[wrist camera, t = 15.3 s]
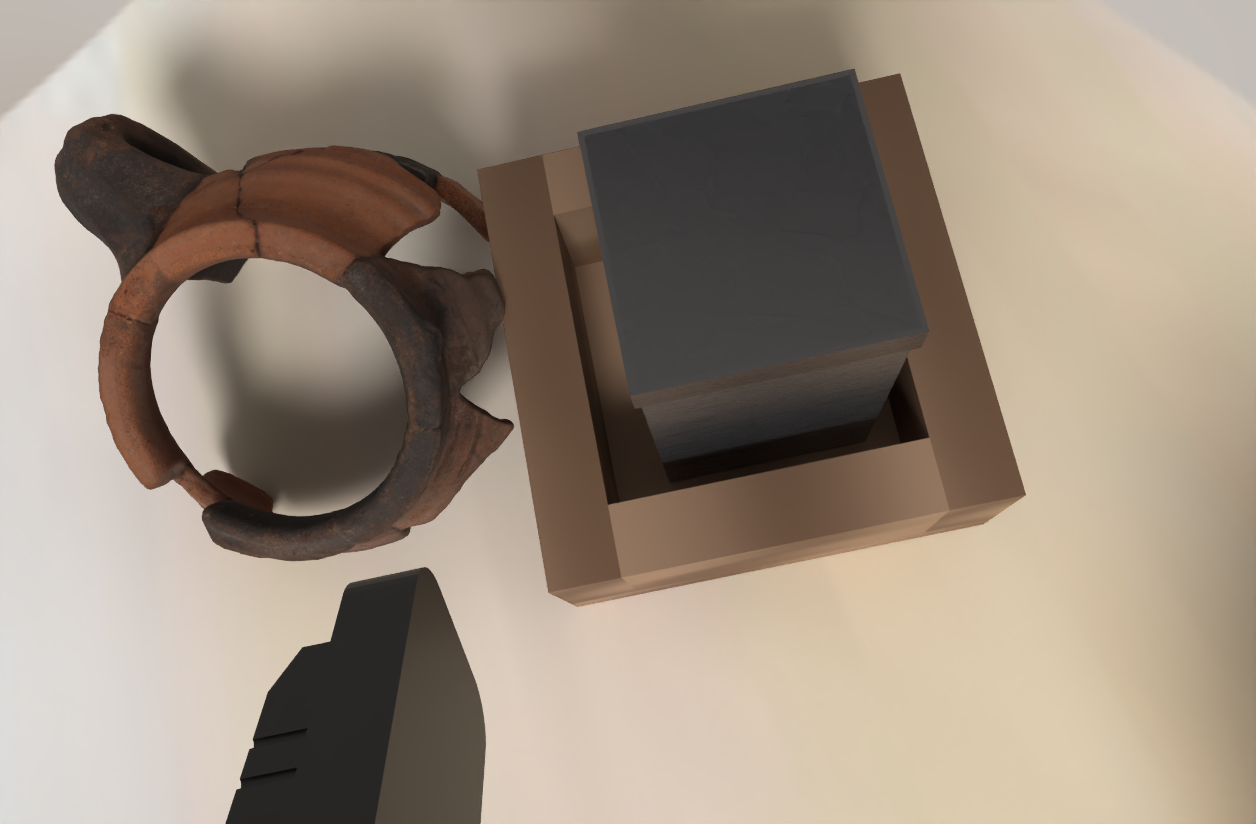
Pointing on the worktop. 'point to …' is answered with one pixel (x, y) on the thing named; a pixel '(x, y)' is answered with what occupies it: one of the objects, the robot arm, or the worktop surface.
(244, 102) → the worktop surface
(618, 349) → the walnut mount
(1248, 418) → the worktop surface
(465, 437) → the pottery mug
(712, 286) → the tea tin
